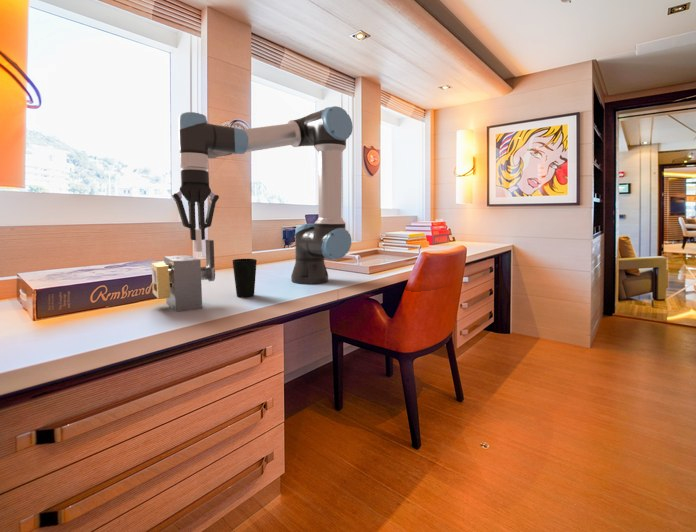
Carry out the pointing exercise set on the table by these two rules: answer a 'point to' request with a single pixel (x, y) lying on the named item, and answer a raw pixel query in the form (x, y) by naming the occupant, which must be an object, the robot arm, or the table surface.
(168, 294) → the block
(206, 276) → the shaft
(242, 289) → the cup
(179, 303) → the block
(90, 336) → the table surface
